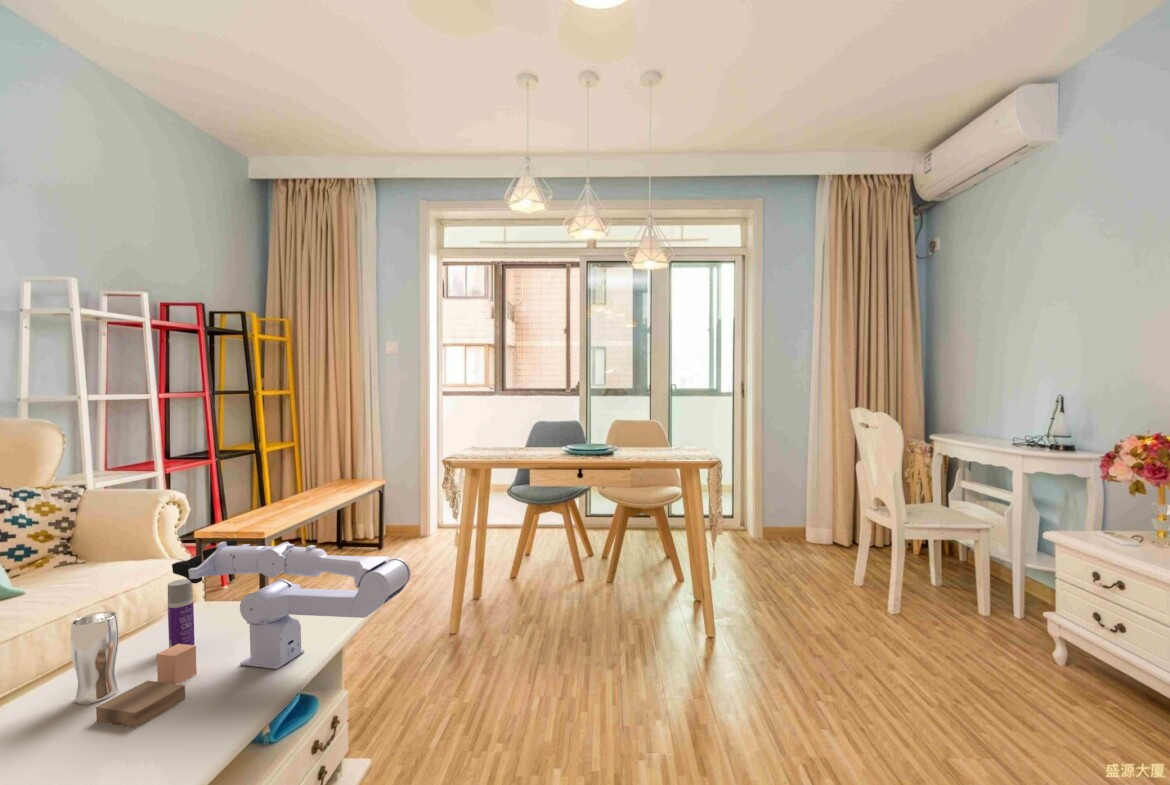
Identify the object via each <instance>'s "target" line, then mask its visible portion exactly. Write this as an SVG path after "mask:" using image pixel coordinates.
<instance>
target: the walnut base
mask: <svg viewBox="0 0 1170 785" xmlns="http://www.w3.org/2000/svg"><path fill="white" fill-rule="evenodd" d="M184 699H185V700H186V685H184V684H179V685H177V684H170V683H163V682H158V681H155V680H154V681H153V680H146V681H144V682H142V683H140V684H138V685H136V686H134V687H132V688H130V689H128V690H127V691H125V692H123V693H120V694H119V695H117V696H115V697H112V698H111V699H109V700H107V701H105V702H103V703H101V704H99V705H96V707H95V708H96V709H95V710H96V712H95V713H96V722H97V723H102V722H104V723H103V724H108V723H112V724H111V725H114V724H117V725H116V726H120V725H123V726H122V727H126V726H130V727H129V728H132V727H135V728H134V729H137V728H138V726H139V727H140V726H142V725H143V723H144V724H146V723H148V722H149V721H151V720H153V719H154V718H156V717H157V716H159V715H161V714H162V713H164V712H166V711H168V710H169V709H170V707H171V708H172V706H173V707H175V706H176V705H177V703H178V704H179V703H181V702H182V700H183V701H184ZM180 701H181V702H180ZM175 704H176V705H175ZM167 709H168V710H167ZM165 710H166V711H165ZM150 719H151V720H150ZM136 727H137V728H136Z"/></svg>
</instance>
